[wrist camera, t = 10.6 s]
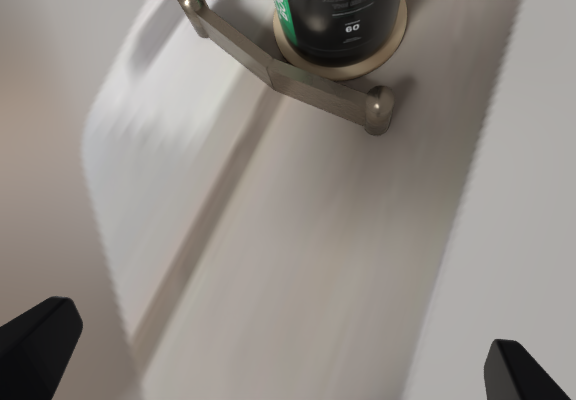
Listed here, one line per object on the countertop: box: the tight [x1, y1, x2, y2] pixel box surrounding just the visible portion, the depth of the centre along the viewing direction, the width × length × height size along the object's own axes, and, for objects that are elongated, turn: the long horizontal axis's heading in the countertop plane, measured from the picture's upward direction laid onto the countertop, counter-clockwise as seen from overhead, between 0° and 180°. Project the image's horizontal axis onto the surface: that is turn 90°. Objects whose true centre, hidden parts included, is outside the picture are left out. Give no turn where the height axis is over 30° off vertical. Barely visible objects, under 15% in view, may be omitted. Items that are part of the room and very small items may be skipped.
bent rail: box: [178, 0, 395, 135], centre depth 23 cm, size 2×14×3 cm, turn 55°
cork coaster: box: [273, 0, 407, 81], centre depth 25 cm, size 8×8×1 cm
